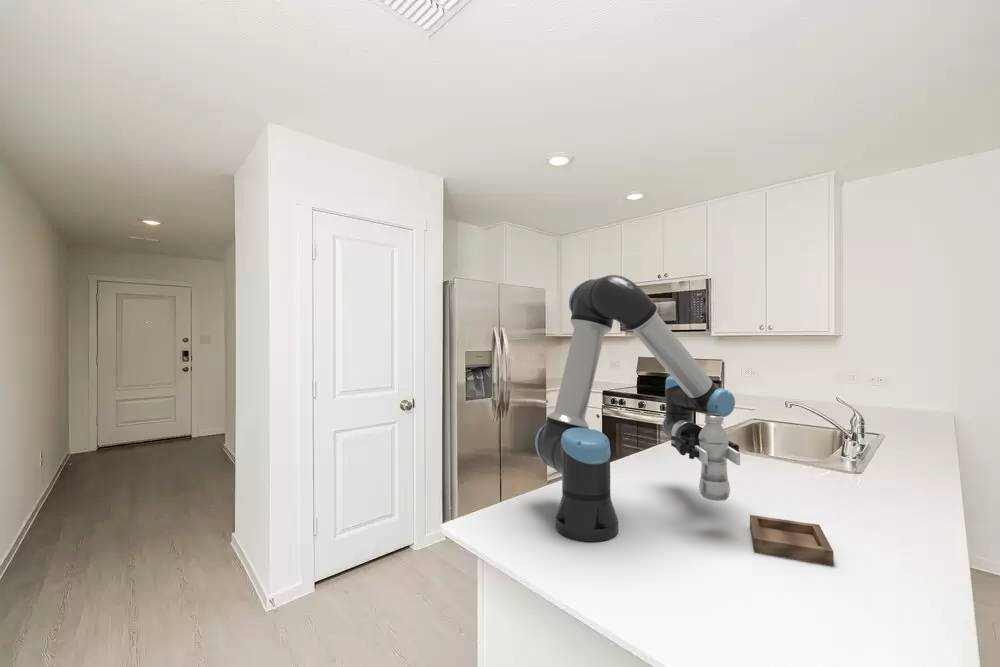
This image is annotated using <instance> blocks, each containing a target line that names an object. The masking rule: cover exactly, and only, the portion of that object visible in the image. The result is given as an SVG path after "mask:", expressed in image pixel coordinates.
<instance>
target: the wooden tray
mask: <svg viewBox="0 0 1000 667" xmlns="http://www.w3.org/2000/svg"><path fill="white" fill-rule="evenodd" d="M749 530H750V536H751V540H752V541H751V542H752V547H753V553H756V554H762V555H768V556H774V557H778V558H779V557H780V558H783V559H790V560H797V561H802V562H807V563H813V564H817V565H818V564H819V565H825V566H830V567H834V566H835V565H834V550H833V548H832V546H831V543H829V541H828V538H827V537H826V535H825V533H824V531H823V529H822V527H821V525H820V524H817V523H809V522H802V521H795V520H789V519H782V518H774V517H768V516H761V515H753V514H749Z"/></svg>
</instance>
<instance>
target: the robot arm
mask: <svg viewBox="0 0 1000 667" xmlns="http://www.w3.org/2000/svg"><path fill="white" fill-rule="evenodd" d="M568 308H569V310H570V312H571V317H570V321H569V322H570V324H571V325H572V327H573V332H572V337H571V339H570V344H569V348H568V353H567V357H566V360H565V361H566V362H565V364H564V365H565V366H564V369H563V374H562V376H561V377H562V378H561V382H560V385H559V386H560V387H559V391H558V393H557V394H558V395H557V398H556V403H555V405H554V410H553V411H552V412H551V413H549V414H548V415H547V417H546V421H545V424H544V425H543V426H542V427H540V428H539V430H538V431H537V433H536V436H535V441H534V442H535V446H534V447H535V450H536V453H537V455H538V457H539V459H540V460H542V462H543V463H544V464H545V465H546V466H548V467H550V468H552V469H554V470H556V472H558V473H559V474H561V484H562V485H561V487H562V488H561V489H562V490H561V491H562V495H561V499H560V502H559V504H558V507H557V508H558V509H557V512H556V514H555V529H556V530H557V532H558V533H560V534H561V535H562V536H565V537H567V538H569V539H571V540H576V541H580V542H590V543H591V542H603V541H607V540H611V539H613V538H615V537H616V536H617V535H618V533H619V519H618V516H617V513H616V510H615V507H614V505H613V502H612V497H611V454H612V451H611V446H610V440H609V438H608V436H607V435H605V433H603V432H601V431H599V430H596V429H590V428H589V427H590V426H589V424H588V422H587V421H586V415H587V411H588V407H589V402H590V397H591V393H592V390H593V385H594V381H595V376H596V372H597V368H598V363H599V358H600V354H601V351H602V347H603V342H604V339H605V335H606V334H608V333H610V332H611V331H612V328H613V325H614V321H617V322H618V323H619V324H621V326H622V327H623V328H624V329H625V330H626V331H629V332H633V333H634V334H635V335H636V337H637V338H638V339H639V340H640V341H641V342H642V344H643V345H644V347H646V348H647V350H648V351H649V352H650V353H651V354H652V356H653V357H654V358H655V359H656V361H658V363H659V364H660V365H661V366H662V367H663V368H664V369H665V371H666V372H667V373H668V374H669V376H667V377H666V379H665V389H664V394H665V417H664V418H663V421H662V429H663V431H664V433H665V434H666V436H667V437H668V438H669V439H670V445H671V447H673V448H675V449H676V451H677V452H678V453H679V454H680V456H681V455H682V456H686V455H687V454H688V458H689V459H690V460H694V459H695V458H696V459H697V460H698V461H699V462H701V464H702V463H703V464H708V452H706V451H705V450H703V449H702V448H701V447H700V444H699V433H700V431H701V430H702V428H703V427H702V426H700V425H699V424H697V423H695V422H694V418H693V413H699V414H702V415H703V414H704V415H705V414H719V415H722V418H725V417H728V416H730V415H731V413H733V411H734V410H735V406H736V400H735V396H734V394H733V393H732V392H731V391H730V390H727V389H725V388H722V387H718V386H717V385H716V383H715V382H713V380H712V379H711V378H710V376H708V373H706V372H705V371H704V369H703V367H701V366H700V364H699V363H698V362H697V360H696V359H695V358H694V356H693V355H691V353H690V352H689V351H688V350H687V348H686V347H685V346H684V345H683V343H682V342H681V341H680V340H679V339H678V337H677V336H676V335H675V333H674V332H673V331H672V330H671V329H670V327H669V326H668V325H667V324H666V322H665V321H664V320H663V318H661V316H660V315H659V314H658V306H657V305H656V304H655V302H654V301H653V300H652V299H651V297H650V296H649V295H648V294H647V293H646V292H645V291H644V290H643V289H642V288H641V287H639V286H638V285H637V284H636V283H635V282H633V281H632V280H630V279H629V278H627V277H624V276H622V275H616V274H610V275H609V274H608V275H606V276H602V277H599V278H595V279H593V278H592V279H588V280H585V281H583V282H582V283H581V282H580V283H579V284H578V285H576V286H575V287H574V288H573V290H572V292H570V295H569V300H568ZM727 460H729V461H730V462H731V463H733V464H734V465H736V466H741V453H740V444H737V443H734V442H732V441H730V440H729V443H728V451H727Z"/></svg>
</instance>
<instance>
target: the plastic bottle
mask: <svg viewBox="0 0 1000 667" xmlns="http://www.w3.org/2000/svg"><path fill="white" fill-rule="evenodd" d="M723 422H724V421H723V417H722V415H719V414H704V423H705V425H704V426H703V427H702V430H701V431H700V433H699V444H700V447H701V448H702V449H703V450H705V451H706V452H708V464H703V463H702V462H701V468H700V478H699V485H698V488H699V493H700V495H701V496H702V497H703V498H704V499H706V500H710V501H720V502H723V501H726V500H728V499H729V497H730V492H731V488H730V487H731V486H730V482H729V476H728V468H727V465H728V464H727V463H728V459H727V451H728V443H729V441H730V438H729V434H728V433H727V431H726V429H724V427H723V426H722V424H723Z"/></svg>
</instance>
